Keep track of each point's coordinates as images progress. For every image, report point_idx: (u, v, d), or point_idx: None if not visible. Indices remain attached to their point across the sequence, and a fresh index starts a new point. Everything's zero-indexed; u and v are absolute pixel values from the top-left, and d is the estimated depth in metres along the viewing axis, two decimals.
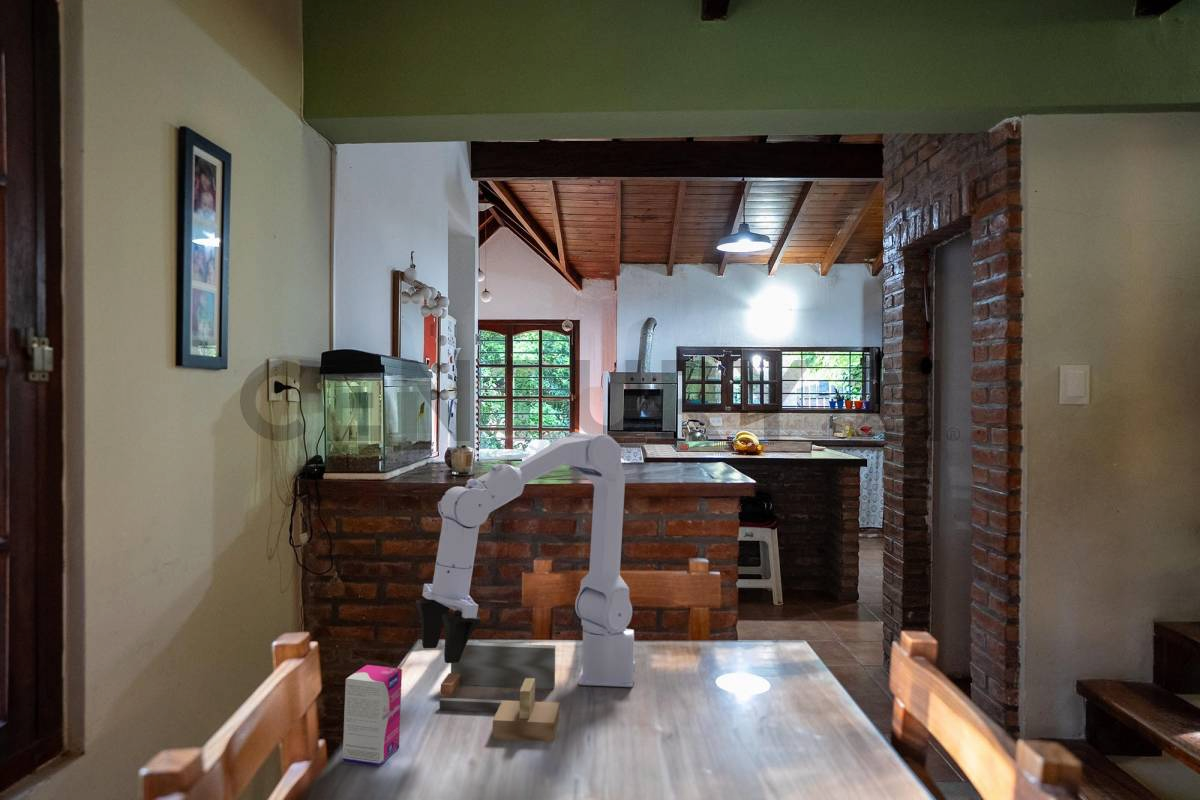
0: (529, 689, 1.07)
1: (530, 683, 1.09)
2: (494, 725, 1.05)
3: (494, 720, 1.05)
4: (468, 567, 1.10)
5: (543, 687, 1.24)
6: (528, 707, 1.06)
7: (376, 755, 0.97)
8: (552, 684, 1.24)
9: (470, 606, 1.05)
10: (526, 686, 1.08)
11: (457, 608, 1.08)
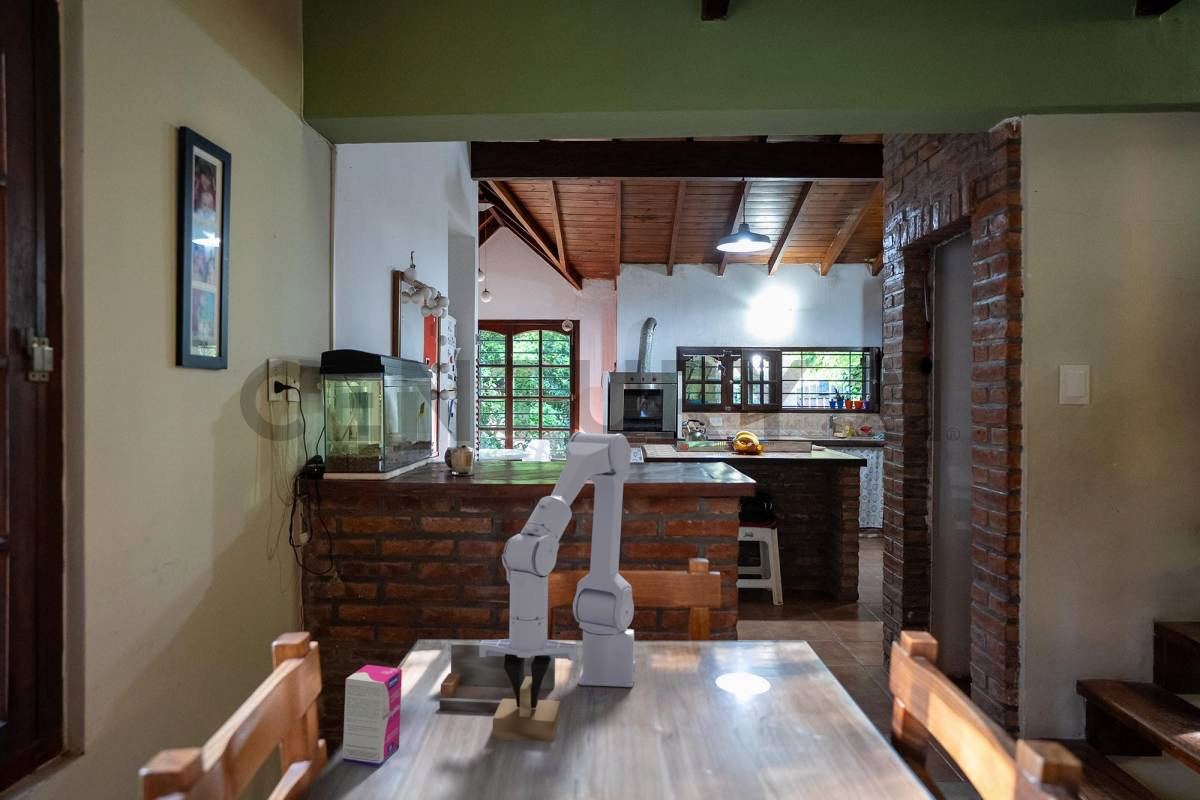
0: (529, 687, 1.07)
1: (530, 681, 1.09)
2: (494, 723, 1.05)
3: (494, 718, 1.05)
4: None
5: (543, 687, 1.24)
6: (528, 705, 1.06)
7: (376, 755, 0.97)
8: (552, 684, 1.24)
9: (575, 648, 1.08)
10: (526, 684, 1.08)
11: (551, 654, 1.08)
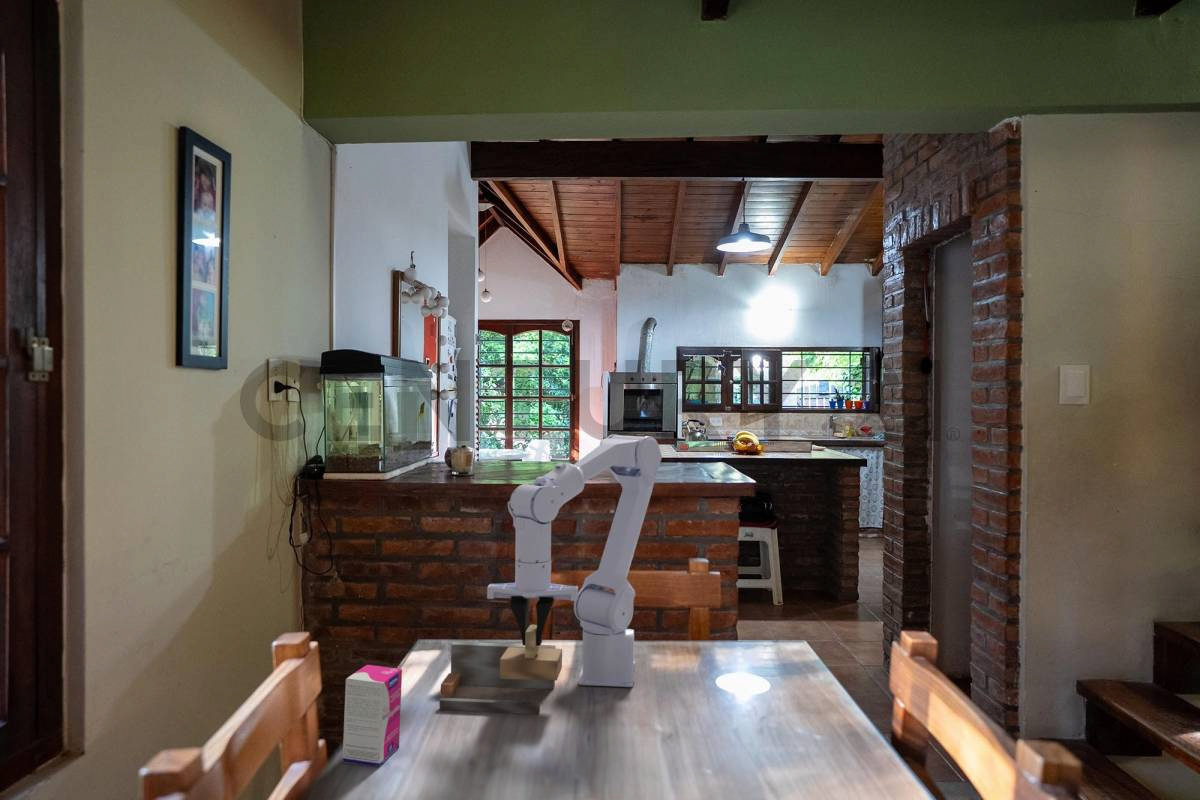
0: (534, 631, 1.14)
1: (534, 627, 1.17)
2: (501, 664, 1.13)
3: (501, 659, 1.13)
4: None
5: (543, 687, 1.24)
6: (533, 647, 1.13)
7: (376, 755, 0.97)
8: (552, 684, 1.24)
9: (577, 589, 1.15)
10: (531, 629, 1.15)
11: (554, 596, 1.16)
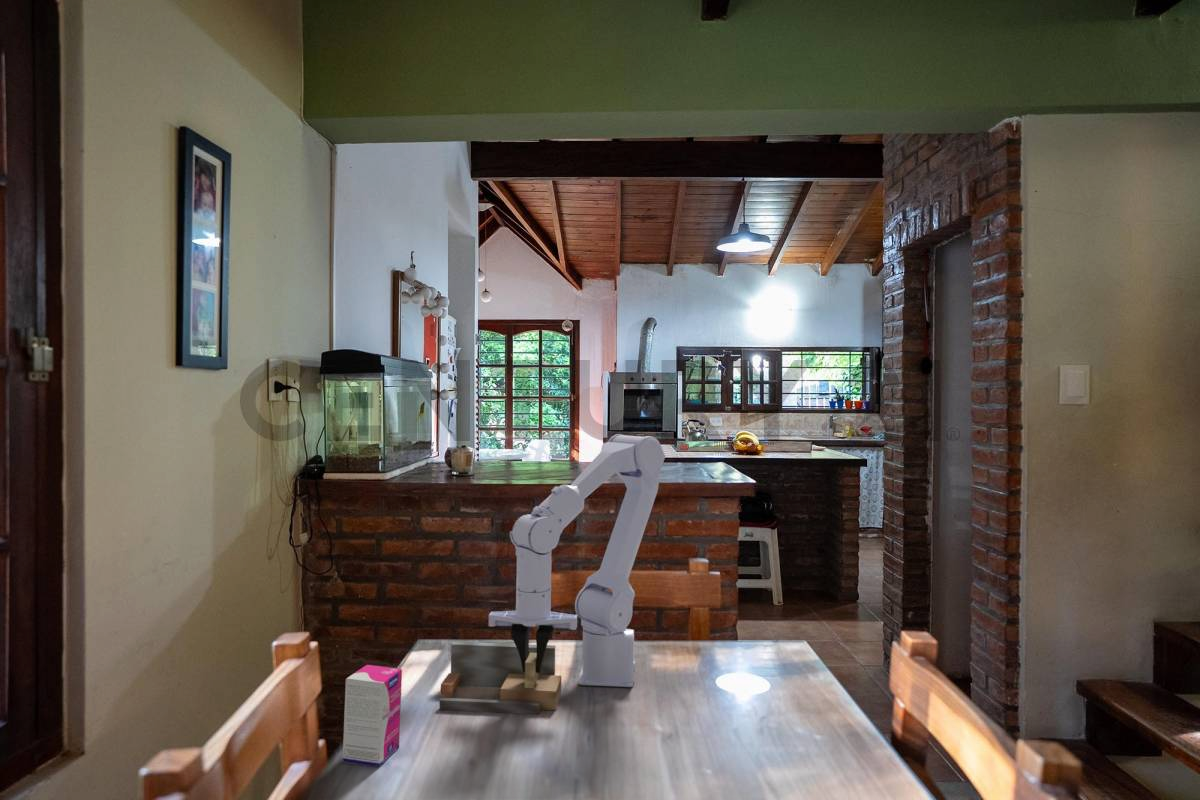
0: (533, 661, 1.17)
1: (534, 656, 1.20)
2: (501, 693, 1.16)
3: (501, 689, 1.16)
4: None
5: None
6: (532, 677, 1.16)
7: (376, 755, 0.97)
8: None
9: (576, 618, 1.19)
10: (531, 659, 1.18)
11: (553, 624, 1.19)
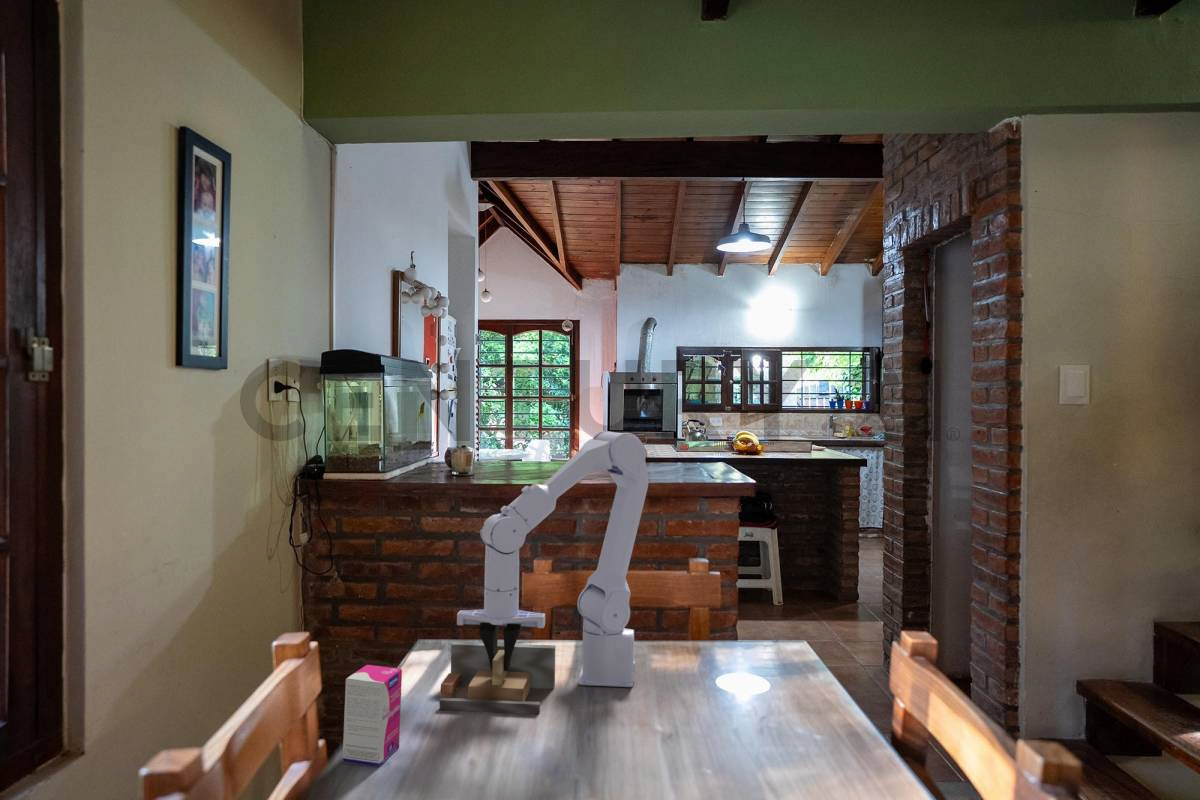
0: (501, 659, 1.18)
1: (502, 654, 1.20)
2: (469, 691, 1.17)
3: (469, 686, 1.17)
4: None
5: (543, 687, 1.24)
6: (500, 675, 1.17)
7: (376, 755, 0.97)
8: (552, 684, 1.24)
9: (543, 616, 1.20)
10: (499, 656, 1.19)
11: (521, 623, 1.20)
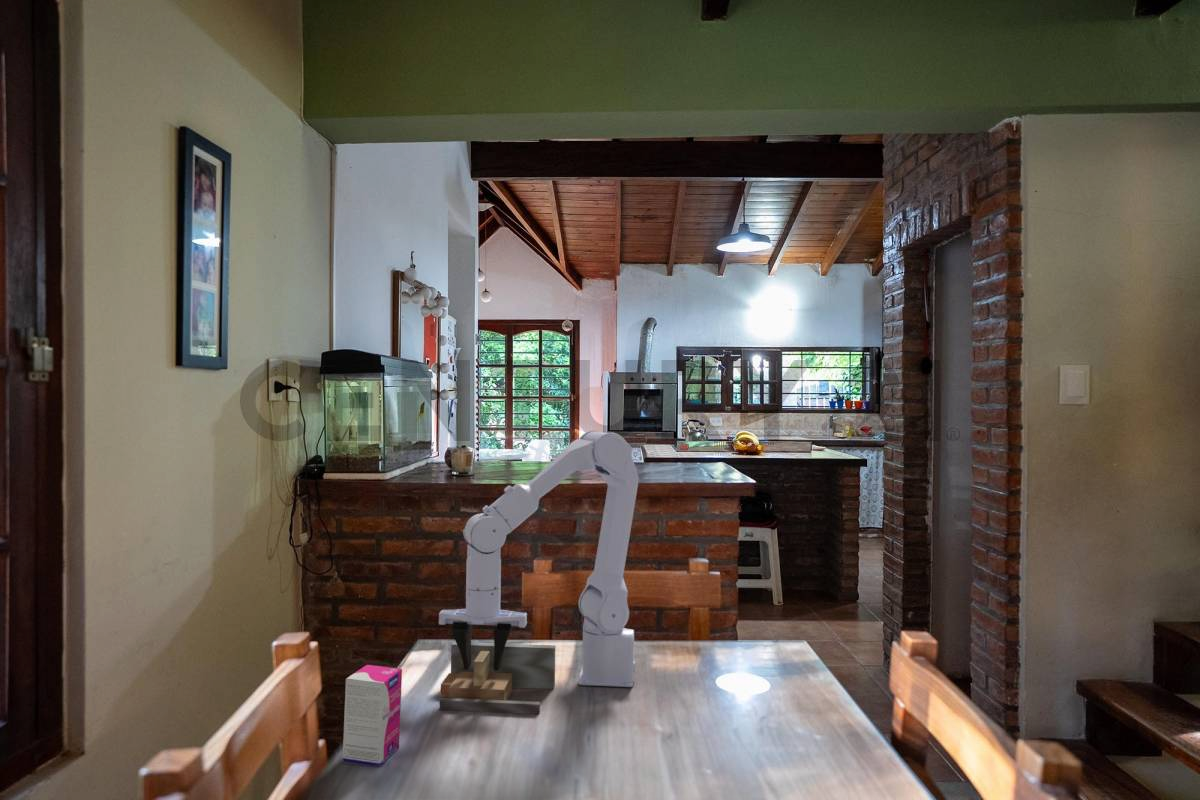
0: (482, 660, 1.18)
1: (484, 655, 1.21)
2: (450, 692, 1.17)
3: (450, 687, 1.17)
4: None
5: (543, 687, 1.24)
6: (481, 676, 1.18)
7: (376, 755, 0.97)
8: (552, 684, 1.24)
9: (525, 616, 1.20)
10: (480, 657, 1.19)
11: (503, 622, 1.20)
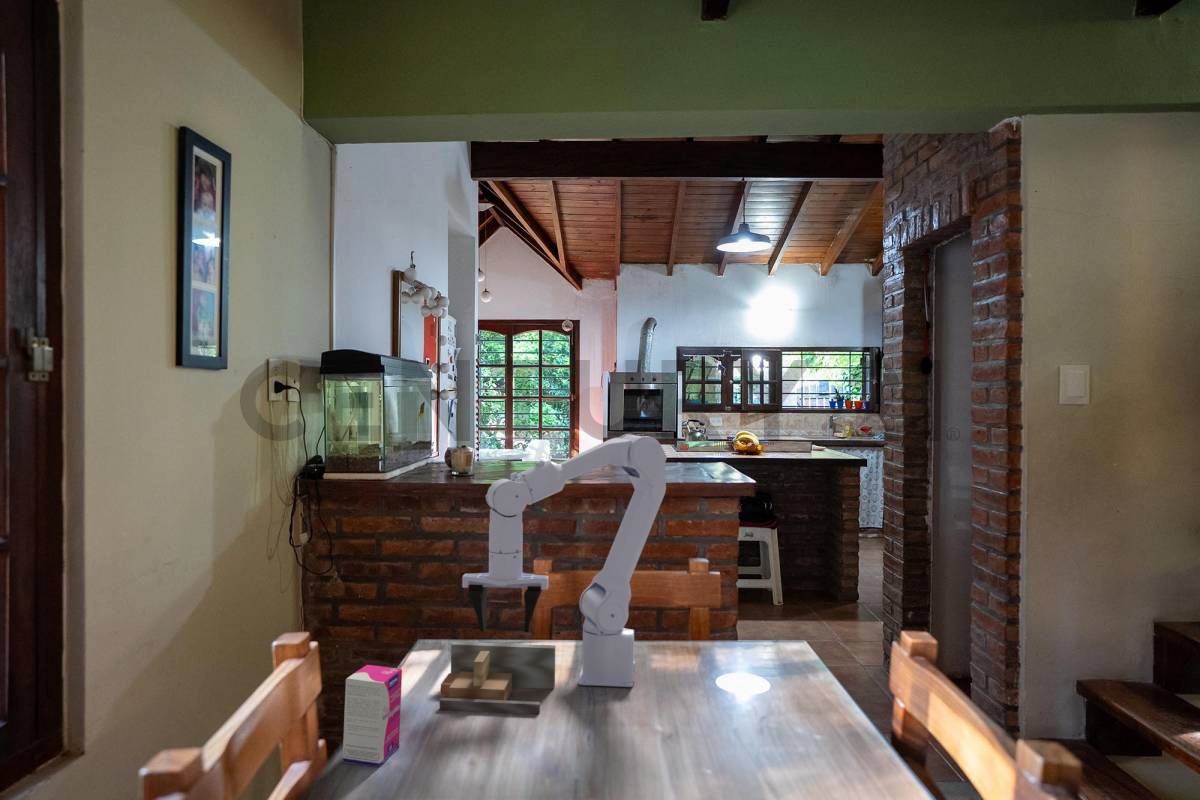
0: (482, 660, 1.18)
1: (484, 655, 1.21)
2: (450, 692, 1.17)
3: (450, 687, 1.17)
4: None
5: (543, 687, 1.24)
6: (481, 676, 1.18)
7: (376, 755, 0.97)
8: (552, 684, 1.24)
9: (547, 578, 1.22)
10: (480, 657, 1.19)
11: (525, 585, 1.22)
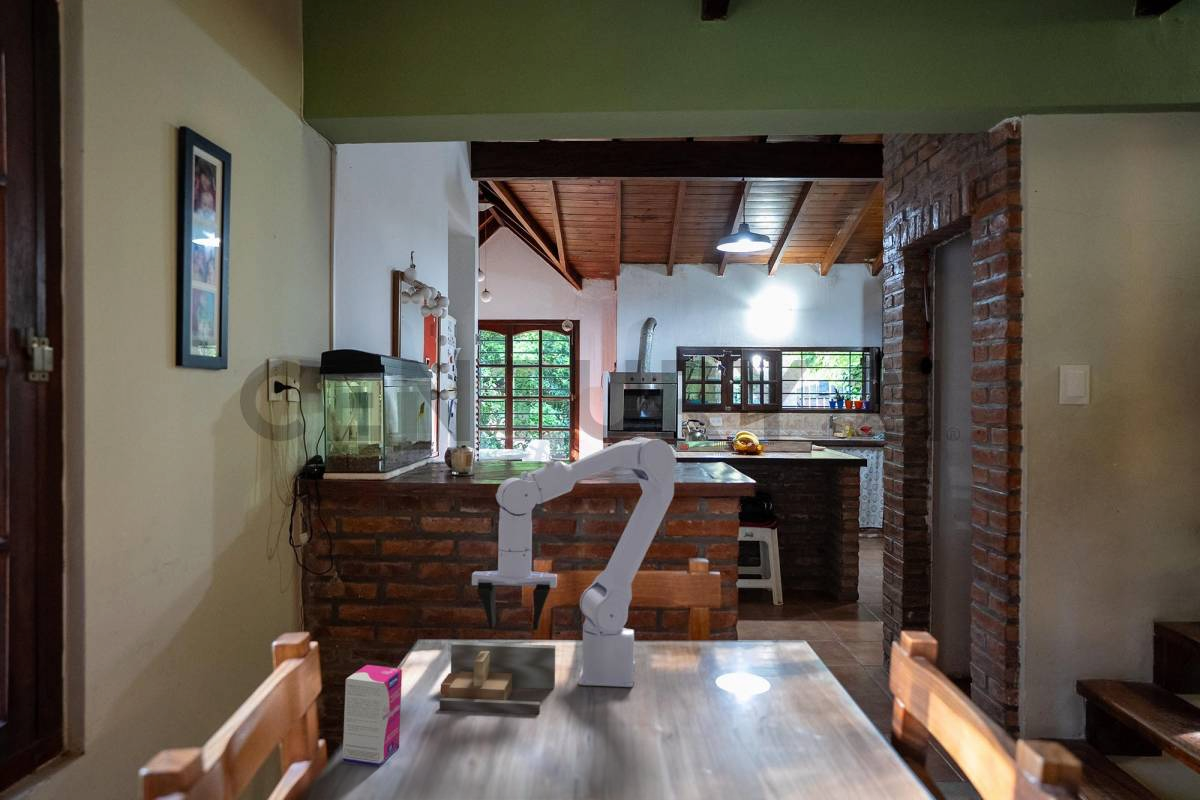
0: (483, 660, 1.18)
1: (484, 655, 1.21)
2: (450, 692, 1.17)
3: (450, 687, 1.17)
4: None
5: (543, 687, 1.24)
6: (481, 676, 1.18)
7: (376, 755, 0.97)
8: (552, 684, 1.24)
9: (556, 577, 1.23)
10: (480, 657, 1.19)
11: (534, 583, 1.23)
